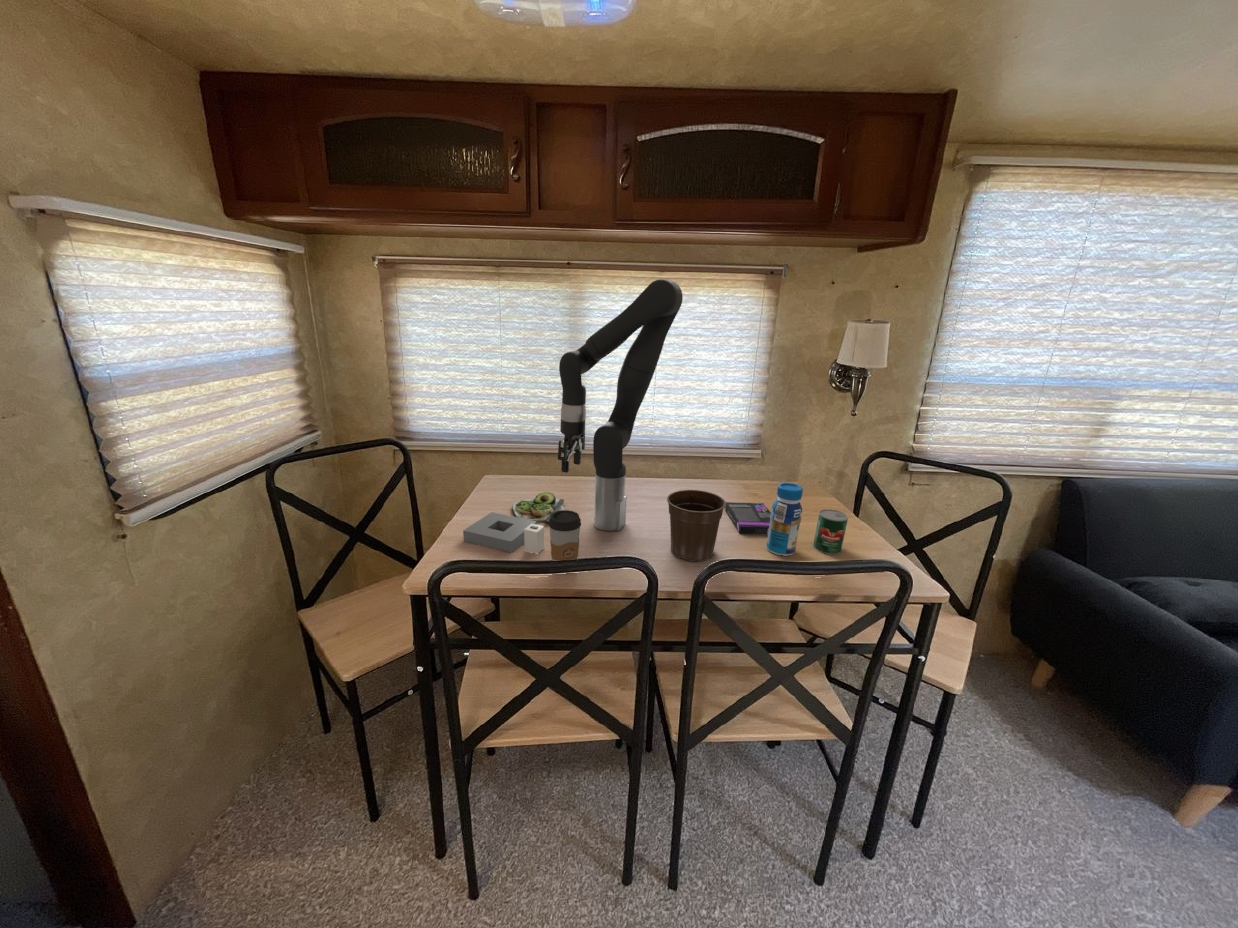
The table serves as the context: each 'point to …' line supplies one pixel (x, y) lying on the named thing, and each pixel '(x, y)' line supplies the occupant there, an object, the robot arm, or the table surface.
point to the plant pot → (694, 523)
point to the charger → (534, 538)
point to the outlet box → (498, 532)
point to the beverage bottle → (785, 520)
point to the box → (749, 517)
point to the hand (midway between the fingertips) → (571, 467)
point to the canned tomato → (830, 531)
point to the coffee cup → (564, 535)
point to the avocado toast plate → (539, 507)
